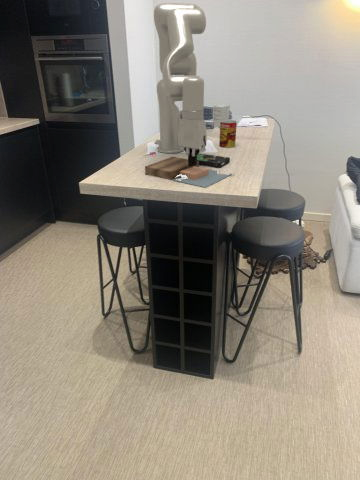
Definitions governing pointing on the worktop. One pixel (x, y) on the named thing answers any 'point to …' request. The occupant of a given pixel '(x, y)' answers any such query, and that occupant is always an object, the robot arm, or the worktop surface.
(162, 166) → the block
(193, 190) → the worktop surface
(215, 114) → the supplement box
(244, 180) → the worktop surface
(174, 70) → the robot arm
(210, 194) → the worktop surface
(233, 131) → the canned food
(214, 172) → the slate mat
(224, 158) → the disk drive
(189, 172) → the terracotta tile
